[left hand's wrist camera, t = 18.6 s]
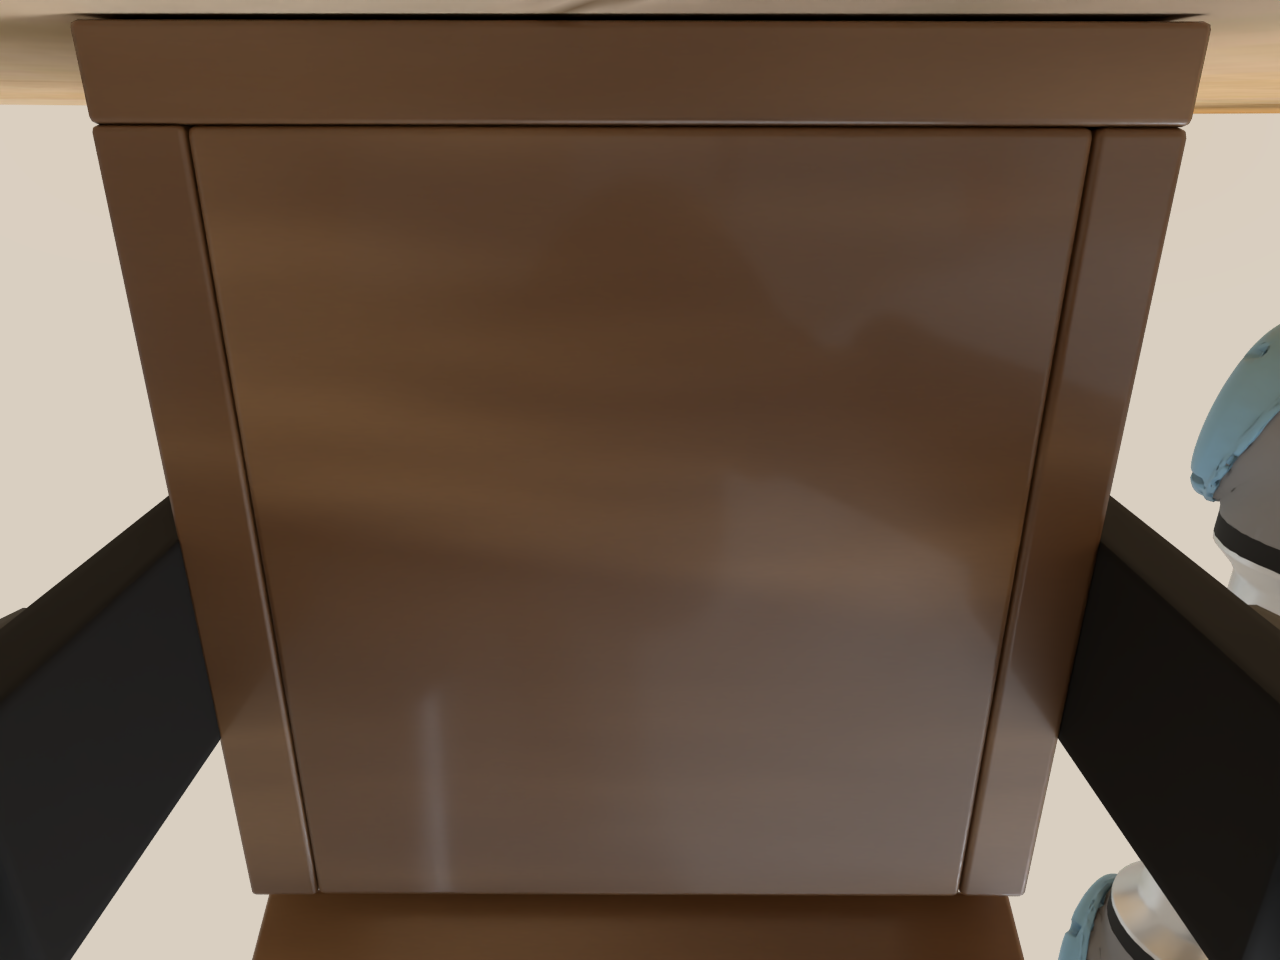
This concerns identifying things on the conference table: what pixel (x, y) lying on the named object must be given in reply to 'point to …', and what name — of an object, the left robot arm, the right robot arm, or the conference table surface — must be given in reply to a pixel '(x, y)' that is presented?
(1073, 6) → the conference table surface
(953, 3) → the conference table surface
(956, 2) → the conference table surface
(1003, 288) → the chest
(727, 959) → the lid
